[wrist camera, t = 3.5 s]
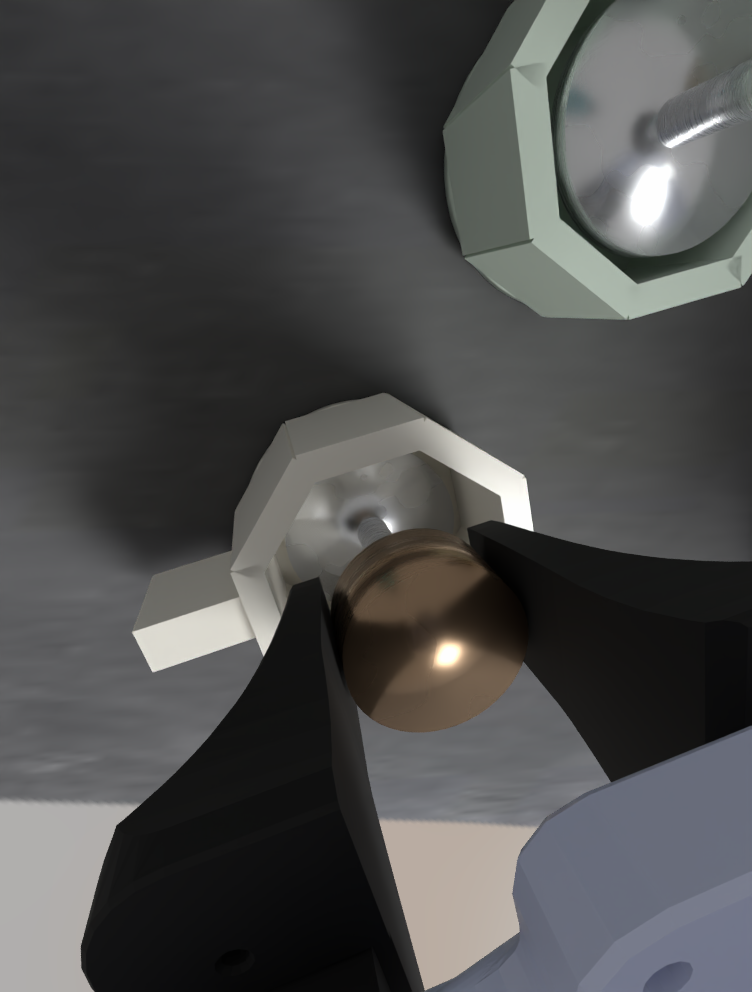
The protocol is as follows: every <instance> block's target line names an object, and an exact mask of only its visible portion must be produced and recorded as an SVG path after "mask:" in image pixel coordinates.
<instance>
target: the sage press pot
mask: <svg viewBox="0 0 752 992" xmlns="http://www.w3.org/2000/svg"><path fill="white" fill-rule="evenodd" d="M614 1H616V0H515V1H514V2H513V3H512V4H511V5H510V6H509V8H508V9H507V10H506V12H505V14H504V16H503V18H502V20H501V21H500V23H499V25H498V27H497V29H496V31H495V32H494V34H493V36H492V38H491V40H490V42H489V44H488V45H487V47H486V49H485V51H484V53H483V54H482V55H481V57H480V58H479V59H478V60H477V62H476V64H475V65H474V67H473V69H472V70H471V72H470V73H469V75H468V77H467V78H466V80H465V83H464V85H463V87H462V89H461V91H460V93H459V95H458V98H457V101H456V104H455V106H454V108H453V110H452V112H451V114H450V115H449V117H448V119H447V121H446V123H445V125H444V126H443V128H444V130H443V137H444V144H445V156H444V183H445V192H446V200H447V205H448V209H449V214H450V218H451V221H452V224H453V227H454V230H455V233H456V235H457V238H458V240H459V242H460V244H461V249H462V255H463V256H464V255H466V256H465V258H464V259H465V260H467V261H468V262H469V263H471V264H472V265H473V266H474V267H475V268H476V269H477V270H478V272H479V273H480V274H481V275H482V276H483V277H484V278H485V279H486V280H487V281H488V282H489V283H490V284H491V285H493V286H494V287H495V288H496V289H497V290H499V291H500V292H502V293H504V294H505V295H507V296H508V297H510V298H512V299H515V300H517V301H519V302H522V303H524V304H526V305H527V306H528V307H530V308H531V309H532V310H534V311H535V312H536V313H538V314H539V315H540V316H542V317H553V318H587V319H620V320H630V319H634V318H637V317H641V316H644V315H647V314H651V313H654V312H658V311H661V310H665V309H668V308H672V307H675V306H678V305H682V304H685V303H689V302H692V301H696V300H699V299H703V298H706V297H710V296H713V295H716V294H720V293H723V292H727V291H730V290H734V289H737V288H741V286H742V285H744V284H745V283H746V281H747V280H748V278H749V277H750V275H751V274H752V191H751V193H750V195H749V196H748V198H747V199H746V201H745V202H744V203H743V205H742V206H741V208H740V209H739V210H738V212H737V213H736V214H735V215H734V216H733V217H732V218H731V219H730V220H729V221H728V223H727V224H725V225H724V226H723V227H722V228H721V229H720V230H719V231H717V232H716V233H715V234H714V235H712V236H711V237H709V238H708V239H706V240H705V241H704V242H702V243H700V244H698V245H696V246H694V247H692V248H690V249H687V250H684V251H681V252H678V253H673V254H668V255H662V256H654V257H645V258H631V257H624V256H620V255H616V254H613V253H610V252H608V251H606V250H604V249H602V248H600V247H598V246H597V245H596V244H594V243H593V242H592V241H590V240H589V239H588V238H587V237H586V236H585V235H584V234H583V233H582V232H581V231H580V230H579V229H578V228H577V226H576V225H575V224H574V222H573V221H572V220H571V218H570V217H569V215H568V213H567V211H566V209H565V208H564V206H563V204H562V201H561V198H560V196H559V193H558V191H557V186H556V175H555V165H554V154H553V144H552V133H551V123H550V122H551V115H552V108H553V102H554V98H555V94H556V91H557V87H558V83H559V80H560V78H561V75H562V72H563V70H564V67H565V65H566V63H567V61H568V59H569V57H570V55H571V53H572V51H573V49H574V47H575V45H576V44H577V42H578V41H579V39H580V38H581V36H582V35H583V33H584V32H585V31H586V29H587V28H588V27H589V26H590V25H591V23H592V22H593V21H594V20H595V19H596V18H597V17H598V16H599V15H600V14H601V13H602V12H603V11H604V10H605V9H606V8H607V7H608V6H610V5H611V4H612V3H613V2H614Z"/></svg>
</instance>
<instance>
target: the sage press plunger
mask: <svg viewBox="0 0 752 992" xmlns="http://www.w3.org/2000/svg"><path fill="white" fill-rule="evenodd" d="M550 123H551V133H552V144H553V154H554V165H555V175H556V186H557V191H558V193H559V196H560V198H561V201H562V204H563V206H564V208H565V209H566V211H567V213H568V215H569V217H570V218H571V220H572V221H573V222H574V224H575V225H576V226H577V228H578V229H579V230H580V231H581V232H582V233H583V234H584V235H585V236H586V237H587V238H588V239H589V240H590V241H592V242H593V243H594V244H596V245H597V246H598V247H600V248H602V249H604V250H606V251H608V252H610V253H613V254H616V255H620V256H624V257H631V258H645V257H654V256H662V255H668V254H673V253H678V252H681V251H684V250H687V249H690V248H692V247H694V246H696V245H698V244H700V243H702V242H704V241H705V240H706V239H708V238H709V237H711V236H712V235H714V234H715V233H716V232H717V231H719V230H720V229H721V228H722V227H723V226H724V225H725V224H727V223H728V221H729V220H730V219H731V218H732V217H733V216H734V215H735V214H736V213H737V212H738V210H739V209H740V208H741V206H742V205H743V203H744V202H745V201H746V199H747V198H748V196H749V195H750V193H751V191H752V0H616V1H614V2H613V3H612V4H611V5H610V6H608V7H607V8H606V9H605V10H604V11H603V12H602V13H601V14H600V15H599V16H598V17H597V18H596V19H595V20H594V21H593V22H592V23H591V25H590V26H589V27H588V28H587V29H586V31H585V32H584V33H583V35H582V36H581V38H580V39H579V41H578V42H577V44H576V45H575V47H574V49H573V51H572V53H571V55H570V57H569V59H568V61H567V63H566V65H565V67H564V70H563V72H562V75H561V78H560V80H559V83H558V87H557V91H556V94H555V98H554V102H553V108H552V115H551V122H550Z"/></svg>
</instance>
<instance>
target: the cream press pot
mask: <svg viewBox="0 0 752 992" xmlns="http://www.w3.org/2000/svg"><path fill="white" fill-rule="evenodd" d="M285 424H286V425H285ZM285 424H284V423H282V425H281V427H280V429H279V431H278V432H277V434H276V436H275V438H274V440H273V442H272V443H271V445H270V446H269V447H268V449H267V450H266V451H265V453H264V455H263V456H262V458H261V459H260V461H259V462H258V464H257V467H256V469H255V471H254V473H253V475H252V478H251V481H250V484H249V486H248V488H247V489H246V491H245V493H244V495H243V497H242V499H241V501H240V502H239V504H238V506H237V508H236V510H235V515H234V528H233V541H232V550H231V551H228V552H225V553H222V554H219V555H215V556H212V557H209V558H206V559H203V560H200V561H196V562H193V563H190V564H187V565H184V566H181V567H178V568H174V569H171V570H168V571H165V572H162V573H159V574H155V575H153V576H152V579H151V582H150V585H149V587H148V590H147V593H146V596H145V598H144V601H143V604H142V607H141V609H140V612H139V615H138V618H137V620H136V623H135V626H134V629H133V631H132V633H133V635H134V637H135V639H136V640H137V642H138V644H139V646H140V648H141V650H142V652H143V654H144V656H145V658H146V660H147V662H148V664H149V666H150V668H151V670H152V672H156V671H159V670H162V669H164V668H167V667H170V666H173V665H176V664H179V663H182V662H185V661H188V660H191V659H194V658H197V657H200V656H203V655H206V654H209V653H212V652H215V651H218V650H221V649H224V648H226V647H229V646H232V645H235V644H238V643H241V642H244V641H247V640H250V639H253V638H256V639H257V641H258V644H259V646H260V649H261V651H262V654H263V656H264V655H265V653H266V651H267V649H268V647H269V645H270V643H271V641H272V638H273V636H274V633H275V631H276V629H277V626H278V624H279V621H280V619H281V616H282V613H283V611H284V608H285V605H286V602H287V599H288V595H289V592H290V590H291V588H292V586H293V585H295V584H298V583H301V582H302V580H301V579H300V578H299V577H298V575H297V574H296V572H295V570H294V569H293V567H292V565H291V562H290V560H289V557H288V553H287V550H286V544H285V535H286V533H287V532H288V530H289V528H290V526H291V525H292V523H293V521H294V519H295V518H296V516H297V514H298V512H299V511H300V509H301V507H302V505H303V504H304V502H305V500H306V498H307V497H308V495H309V493H310V491H311V490H312V488H313V486H314V484H315V483H316V482H318V481H321V480H325V479H328V478H331V477H334V476H338V475H341V474H344V473H347V472H351V471H354V470H357V469H360V468H364V467H367V466H370V465H374V464H377V463H380V462H383V461H387V460H390V459H393V458H396V457H400V456H403V455H406V454H409V453H413V454H415V455H416V456H418V457H419V458H421V459H422V460H423V461H424V462H425V463H426V464H427V465H429V466H430V467H431V468H432V469H433V470H434V471H435V472H436V473H437V474H438V476H439V477H440V478H441V480H442V481H443V483H444V484H445V486H446V488H447V490H448V493H449V495H450V498H451V501H452V505H453V512H454V529H453V535H455V536H457V537H459V538H460V539H462V540H464V541H465V542H466V543H468V544H469V545H470V542H469V537H468V531H467V528H468V527H471V526H475V525H478V524H481V523H484V522H487V521H490V520H493V521H498V522H502V523H506V524H510V525H513V526H517V527H520V528H523V529H527V530H530V531H533V524H532V517H531V510H530V503H529V496H528V489H527V482H526V478H525V477H524V475H523V474H521V473H519V472H518V471H516V470H515V469H513V468H511V467H510V466H508V465H506V464H505V463H503V462H501V461H500V460H498V459H497V458H495V457H493V456H492V455H490V454H488V453H487V452H485V451H483V450H482V449H480V448H478V447H477V446H475V445H474V444H472V443H470V442H469V441H467V440H465V439H464V438H462V437H460V436H459V435H457V434H455V433H454V432H452V431H450V430H448V429H447V428H445V427H443V426H442V425H440V424H438V423H437V422H435V421H433V420H432V419H430V418H428V417H427V416H425V415H423V414H422V413H420V412H418V411H416V410H415V409H413V408H411V407H410V406H408V405H406V404H405V403H403V402H401V401H400V400H398V399H396V398H395V397H393V396H391V395H390V394H388V393H381V394H377V395H374V396H370V397H367V398H363V399H358V400H347V401H343V402H338V403H334V404H330V405H328V406H325V407H322V408H319V409H317V410H315V411H313V412H311V413H309V414H307V415H305V416H301V417H298V418H295V419H291V420H288V421H285ZM327 603H328V606H329V609H330V612H331V601H328V600H327Z"/></svg>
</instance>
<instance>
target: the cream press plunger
mask: <svg viewBox="0 0 752 992" xmlns="http://www.w3.org/2000/svg"><path fill="white" fill-rule="evenodd" d="M453 529H454V512H453V505H452V501H451V498H450V495H449V493H448V490H447V488H446V486H445V484H444V483H443V481H442V480H441V478H440V477H439V476H438V474H437V473H436V472H435V471H434V470H433V469H432V468H431V467H430V466H429V465H427V464H426V463H425V462H424V461H423V460H422V459H421V458H419V457H418V456H416V455H415V454H413V453H409V454H406V455H403V456H400V457H396V458H393V459H390V460H387V461H383V462H380V463H377V464H374V465H370V466H367V467H364V468H360V469H357V470H354V471H351V472H347V473H344V474H341V475H338V476H334V477H331V478H328V479H325V480H321V481H318V482H316V483H315V484H314V486H313V488H312V490H311V491H310V493H309V495H308V497H307V498H306V500H305V502H304V504H303V505H302V507H301V509H300V511H299V512H298V514H297V516H296V518H295V519H294V521H293V523H292V525H291V526H290V528H289V530H288V532H287V533H286V535H285V544H286V550H287V553H288V557H289V560H290V562H291V565H292V567H293V569H294V570H295V572H296V574H297V575H298V577H299V578H300V579H301V580H302V582H304V581H307V580H310V579H313V578H316V577H319V578H320V581H321V584H322V587H323V590H324V593H325V596H326V600H328V601H331V612H330V614H331V619H332V623H333V628H334V633H335V638H336V643H337V647H338V651H339V655H340V659H341V663H342V667H343V671H344V675H345V678H346V682H347V686H348V689H349V691H350V694H351V696H352V698H353V699H354V701H355V702H356V704H357V705H358V707H359V708H360V709H361V710H362V711H363V712H364V713H365V714H366V715H368V716H369V717H370V718H371V719H373V720H374V721H376V722H378V723H380V724H381V725H384V726H386V727H389V728H392V729H396V730H400V731H406V732H431V731H437V730H442V729H446V728H450V727H453V726H456V725H458V724H461V723H463V722H465V721H468V720H469V719H471V718H473V717H475V716H477V715H478V714H480V713H481V712H483V711H484V710H486V709H487V708H488V707H489V706H491V705H492V704H493V703H494V702H495V701H497V700H498V698H499V697H500V696H501V695H502V694H503V693H504V692H505V691H506V690H507V688H508V687H509V686H510V685H511V683H512V682H513V680H514V679H515V677H516V675H517V674H518V672H519V670H520V668H521V666H522V663H523V660H524V657H525V654H526V650H527V645H528V622H527V618H526V614H525V611H524V609H523V606H522V604H521V602H520V601H519V599H518V597H517V596H516V595H515V593H514V592H513V591H512V590H511V589H510V588H509V587H508V586H507V584H506V583H505V582H504V581H503V580H502V579H501V578H500V577H499V576H498V575H497V574H496V573H495V572H494V570H493V569H492V568H491V567H490V566H489V565H488V564H487V563H486V562H485V561H484V560H483V559H482V558H481V556H480V555H479V554H478V553H477V552H476V551H475V550H474V549H473V548H472V547H471V546H470V545H469V544H468V543H466V542H465V541H464V540H462V539H460V538H459V537H457V536H455V535H453Z"/></svg>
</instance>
